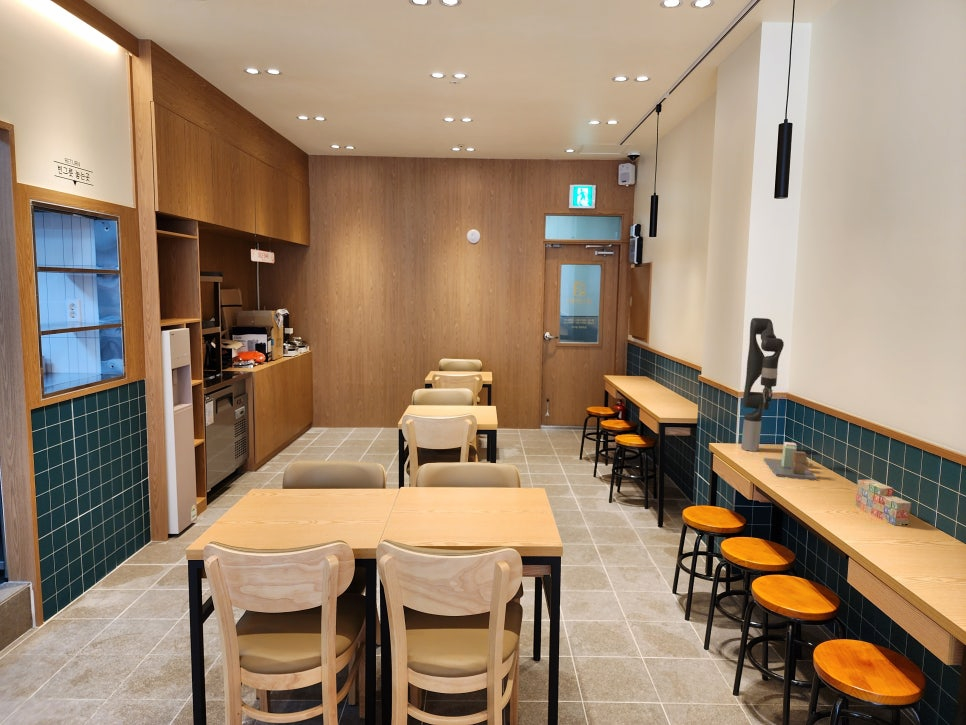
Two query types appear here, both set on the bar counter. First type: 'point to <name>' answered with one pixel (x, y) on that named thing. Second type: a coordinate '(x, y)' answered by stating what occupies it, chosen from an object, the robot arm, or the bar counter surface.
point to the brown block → (799, 462)
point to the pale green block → (787, 456)
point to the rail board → (786, 470)
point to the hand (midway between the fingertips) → (765, 409)
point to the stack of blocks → (882, 502)
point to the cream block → (790, 444)
